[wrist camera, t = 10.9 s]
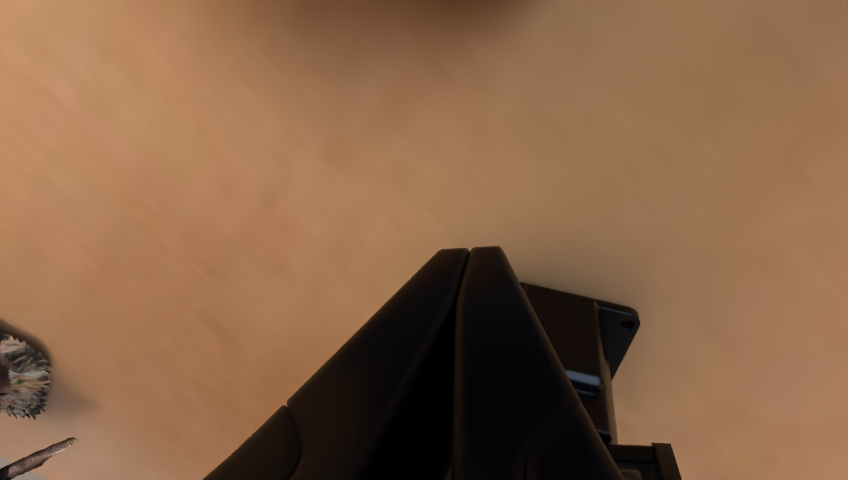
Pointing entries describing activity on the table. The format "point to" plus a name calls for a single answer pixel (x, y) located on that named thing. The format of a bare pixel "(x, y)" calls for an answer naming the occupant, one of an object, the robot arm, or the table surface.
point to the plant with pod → (24, 396)
